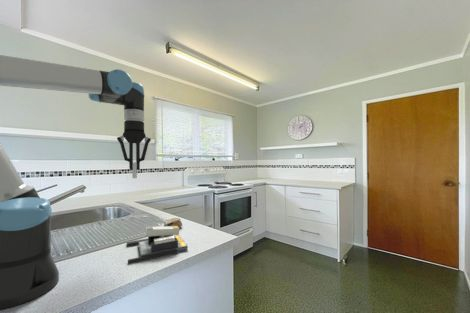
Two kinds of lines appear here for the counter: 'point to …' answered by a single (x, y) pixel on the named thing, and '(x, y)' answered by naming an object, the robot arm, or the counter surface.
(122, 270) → the counter surface
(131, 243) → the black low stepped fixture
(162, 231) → the breaker lever
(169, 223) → the stone
